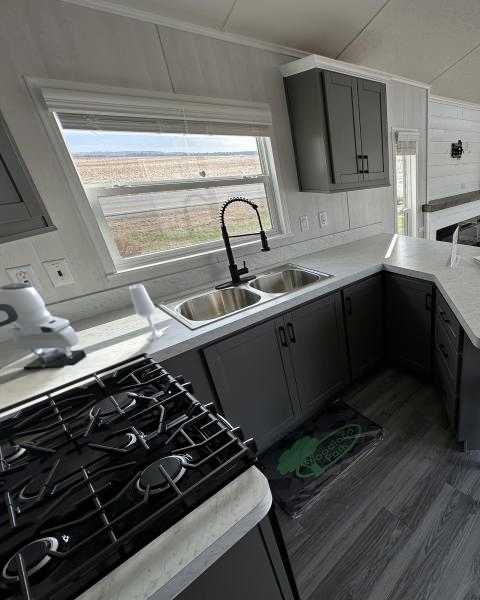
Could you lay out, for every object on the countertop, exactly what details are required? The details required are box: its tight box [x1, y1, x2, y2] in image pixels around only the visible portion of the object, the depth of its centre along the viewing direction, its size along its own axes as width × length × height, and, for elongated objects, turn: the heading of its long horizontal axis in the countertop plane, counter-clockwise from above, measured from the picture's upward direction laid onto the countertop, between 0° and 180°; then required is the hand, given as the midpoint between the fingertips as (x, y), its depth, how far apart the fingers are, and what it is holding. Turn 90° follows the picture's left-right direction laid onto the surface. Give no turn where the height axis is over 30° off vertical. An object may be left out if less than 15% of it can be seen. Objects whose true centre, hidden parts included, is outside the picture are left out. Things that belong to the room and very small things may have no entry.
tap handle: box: [40, 348, 64, 363], centre depth 126 cm, size 7×2×4 cm, turn 163°
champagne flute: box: [128, 283, 164, 340], centre depth 141 cm, size 7×7×24 cm
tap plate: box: [22, 349, 87, 371], centre depth 127 cm, size 14×11×3 cm
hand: (55, 356), depth 126 cm, fingers open, 8 cm apart
